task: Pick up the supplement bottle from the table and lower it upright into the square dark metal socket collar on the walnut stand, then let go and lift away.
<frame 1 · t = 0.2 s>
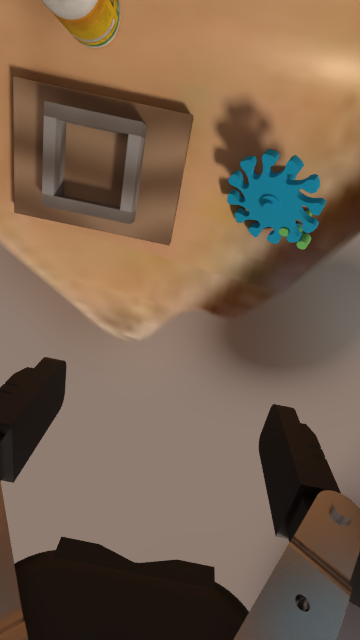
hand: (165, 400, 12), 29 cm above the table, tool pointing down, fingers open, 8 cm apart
supplement bottle: (94, 16, 31), on the table
gear: (268, 203, 36), on the table
socket stand: (101, 168, 36), on the table
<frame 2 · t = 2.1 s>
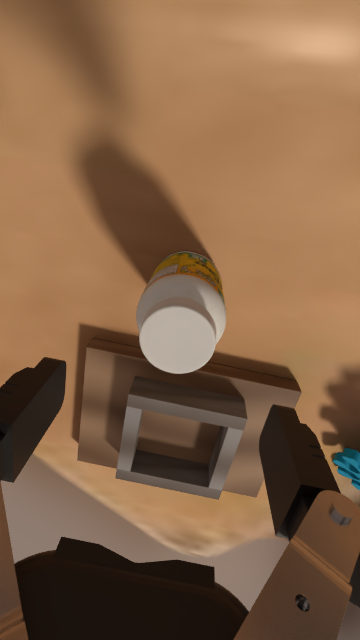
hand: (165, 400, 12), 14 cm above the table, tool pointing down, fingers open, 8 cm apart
supplement bottle: (187, 283, 25), on the table
socket stand: (180, 417, 31), on the table
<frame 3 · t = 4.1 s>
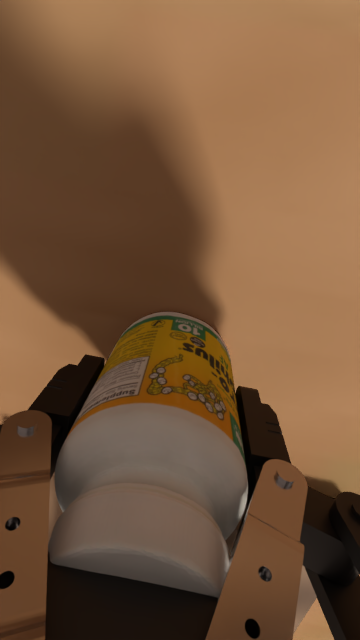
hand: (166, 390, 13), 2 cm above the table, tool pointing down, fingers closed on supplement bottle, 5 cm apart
supplement bottle: (173, 359, 15), on the table, touching gripper
socket stand: (167, 542, 20), on the table
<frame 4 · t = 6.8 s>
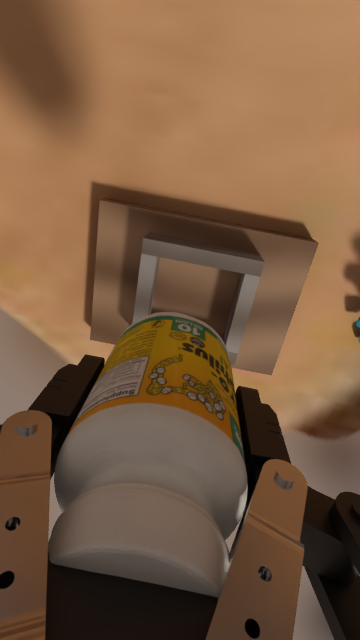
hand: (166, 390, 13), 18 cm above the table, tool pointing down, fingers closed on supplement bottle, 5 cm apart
supplement bottle: (173, 359, 15), point 16 cm above the table, touching gripper
socket stand: (194, 290, 30), on the table
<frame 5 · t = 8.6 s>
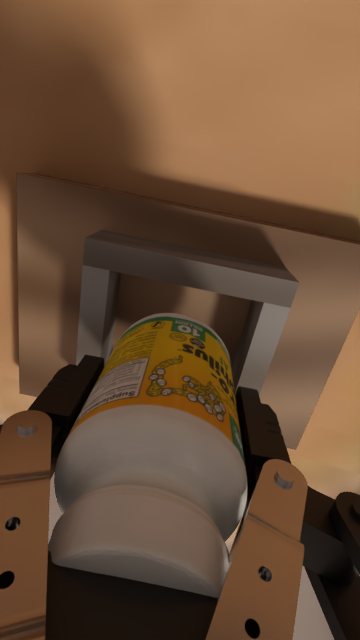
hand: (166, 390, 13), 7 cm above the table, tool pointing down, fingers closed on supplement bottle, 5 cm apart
supplement bottle: (173, 360, 15), point 5 cm above the table, touching gripper
socket stand: (179, 320, 20), on the table
when the fingers open (5 cm above the table, at t = 9.8 s): supplement bottle drops 1 cm, resting on socket stand.
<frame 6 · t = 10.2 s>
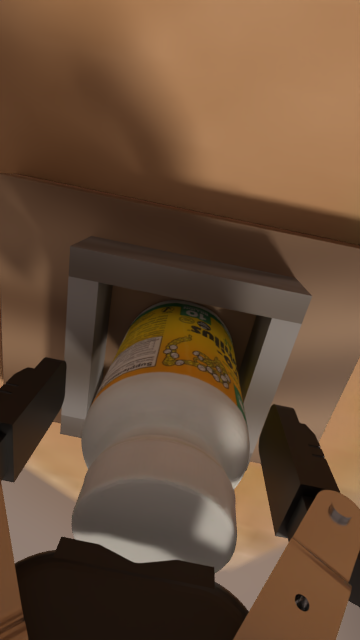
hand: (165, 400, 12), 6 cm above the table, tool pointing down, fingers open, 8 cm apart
supplement bottle: (180, 345, 17), point 1 cm above the table, touching socket stand
socket stand: (177, 333, 18), on the table
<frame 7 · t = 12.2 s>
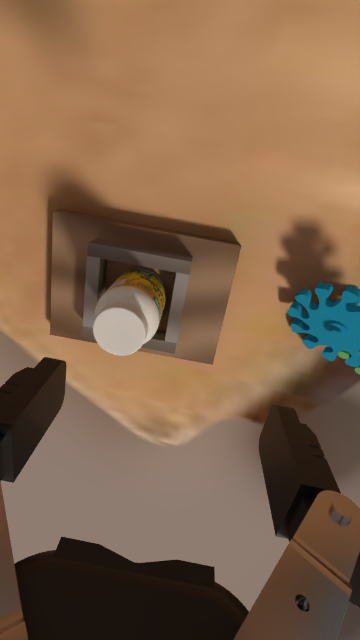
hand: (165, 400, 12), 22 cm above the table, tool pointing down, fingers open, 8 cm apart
supplement bottle: (141, 292, 33), point 1 cm above the table, touching socket stand
gear: (327, 315, 34), on the table
socket stand: (141, 289, 34), on the table
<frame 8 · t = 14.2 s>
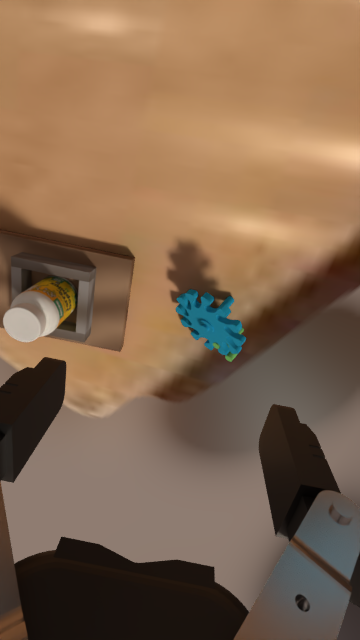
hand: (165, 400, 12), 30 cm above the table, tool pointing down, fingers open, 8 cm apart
supplement bottle: (60, 294, 42), point 1 cm above the table, touching socket stand
gear: (210, 314, 44), on the table
socket stand: (62, 291, 43), on the table
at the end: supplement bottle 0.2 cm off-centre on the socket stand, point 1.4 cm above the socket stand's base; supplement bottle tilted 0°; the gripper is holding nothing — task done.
